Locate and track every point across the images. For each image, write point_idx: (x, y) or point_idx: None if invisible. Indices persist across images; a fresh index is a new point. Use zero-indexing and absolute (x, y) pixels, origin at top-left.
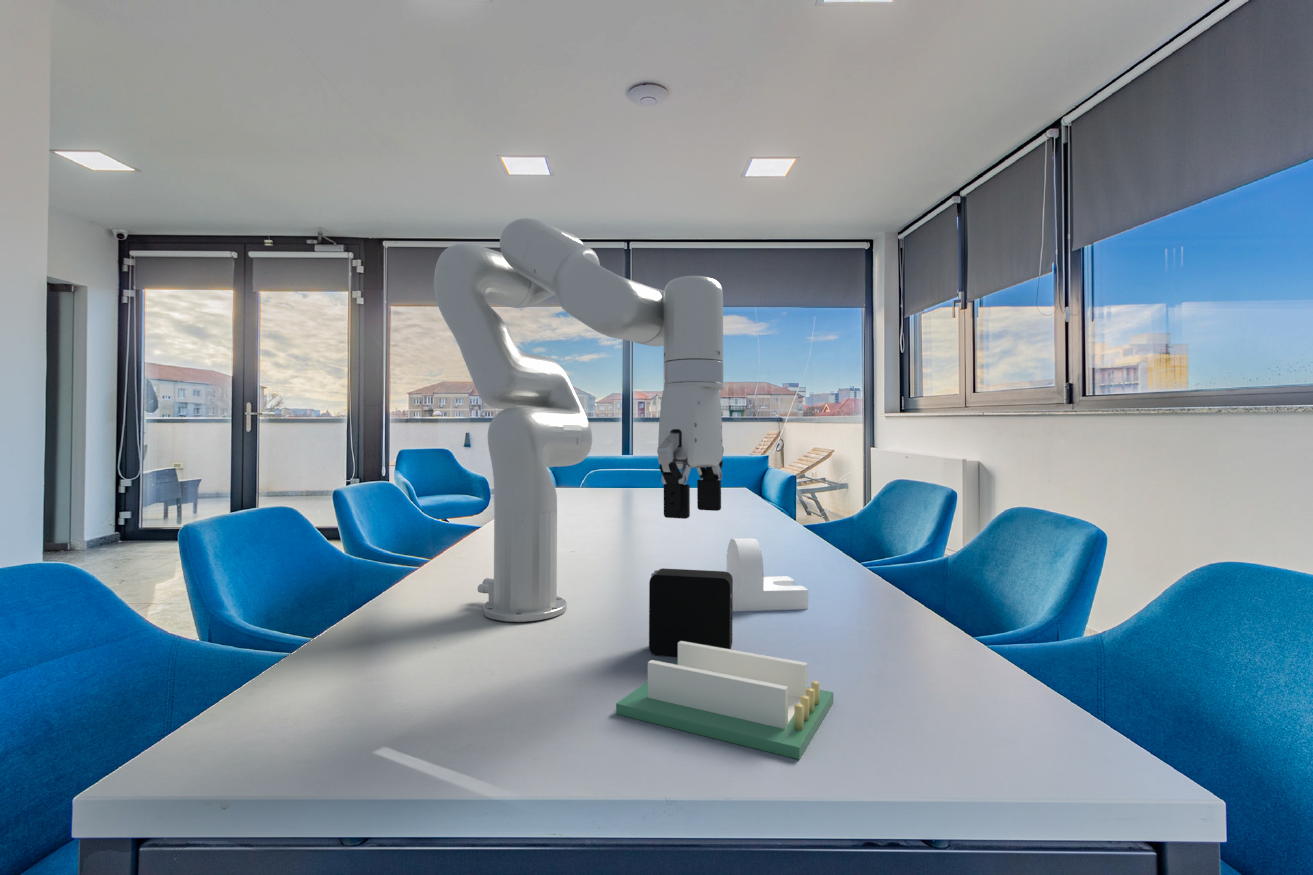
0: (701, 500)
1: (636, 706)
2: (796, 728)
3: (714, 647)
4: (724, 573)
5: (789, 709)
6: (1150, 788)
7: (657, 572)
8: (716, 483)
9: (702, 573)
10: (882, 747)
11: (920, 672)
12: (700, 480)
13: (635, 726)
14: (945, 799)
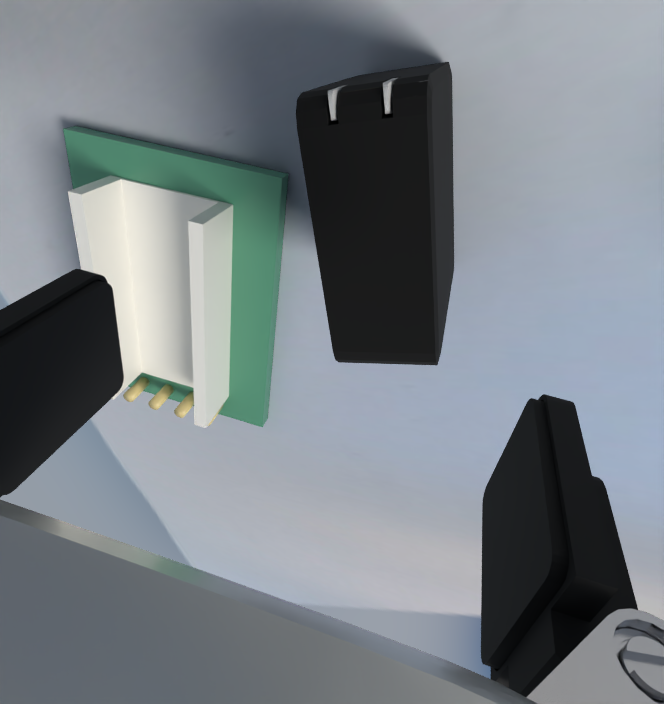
0: (524, 455)
1: (75, 167)
2: (138, 379)
3: (199, 296)
4: (403, 352)
5: (176, 375)
6: None
7: (348, 113)
8: (484, 646)
9: (379, 288)
10: (180, 443)
11: (418, 530)
12: (558, 590)
13: (64, 173)
14: (123, 465)
